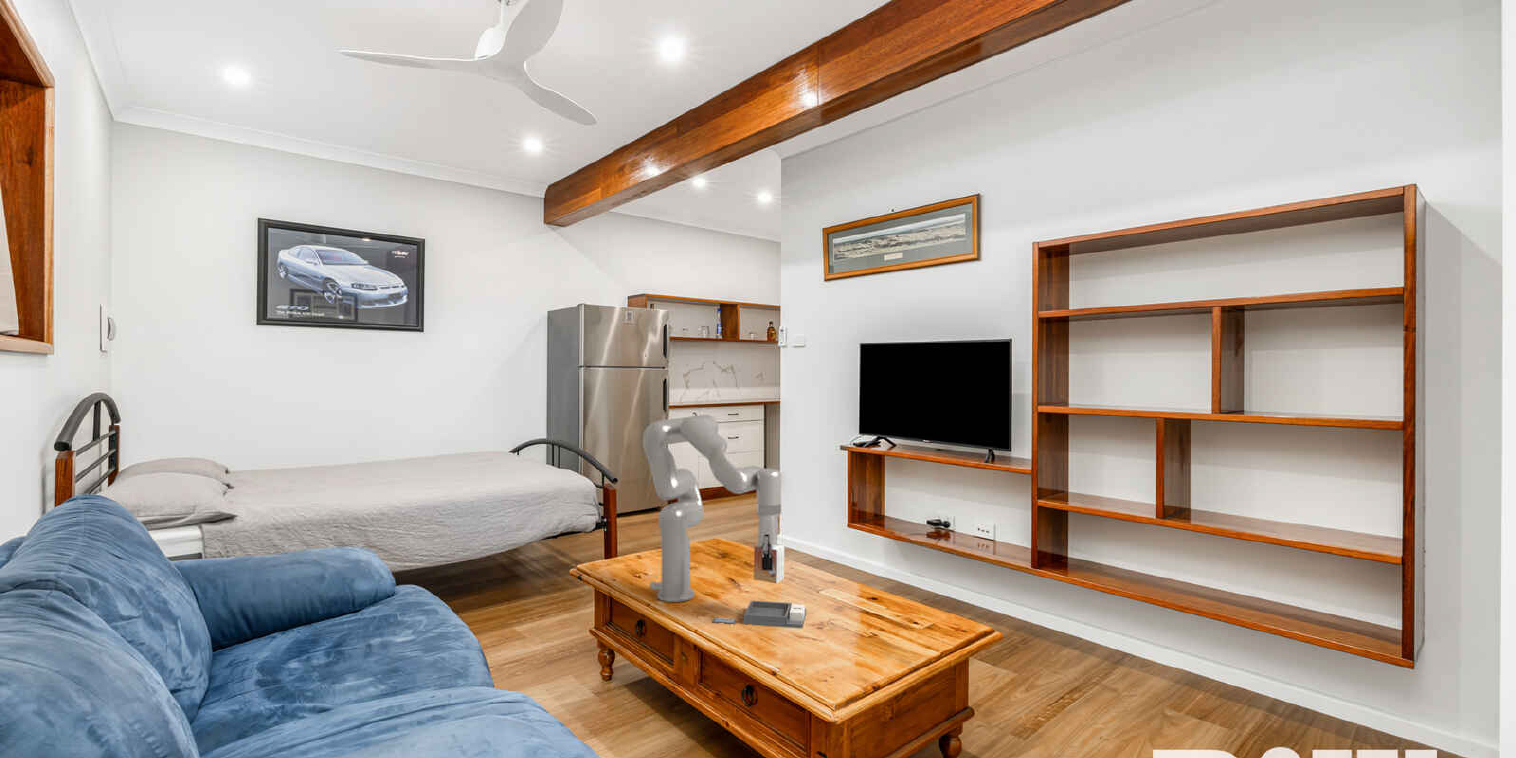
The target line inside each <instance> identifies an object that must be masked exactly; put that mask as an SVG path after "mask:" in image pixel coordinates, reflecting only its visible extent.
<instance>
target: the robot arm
mask: <svg viewBox="0 0 1516 758" xmlns="http://www.w3.org/2000/svg"><path fill="white" fill-rule="evenodd" d="M686 442H687V443H689V444H690V445H691V446H692V447H693V448H694V449H695V450H696V451H698V452H699V453H700V454H701V455H702V456H703V457H704V458H705V459H706V460H707V461H708V465H709V469H710V471H711V473H712V475H713V477H714V478H715V480H717V481H718V483H720V484H721V485H722V486H723V487H724V488H725V489H727V490H728V491H729V492H730V493H733V494H736V495H738V494H739V495H740V494H744V493H747V492H750V491H755V490H756V515H757V516H759V519H758V537H757V538H758V539H757V545H758V547H759V548H761V547H762V545H763V551H762V570H770V571H771V570H772V569H773V557H772V548H773V547H774V546H775V545H777V543H778V532H779V530H778V529H779V527H778V526H779V525H778V522H779V521H778V519H779V517H778V516H781V515H782V473H781V471H780V470H778V469H775V468H763V467H760V466H756V465H749V466H745V467H741V468H737V467H735V465H734V464H732V463H731V462H730V461H729V460H728V459H727V457H726V455H725V452H726V451H727V448H728V442H727V441H726V440H725V438H723V436H722V435H720V434H719V423H718V421H717V420H716V419H715V418H714V417H713V416H711V415H709V414H701V415H699V414H698V415H692V416H688V417H677V418H669V419H662V420H656V421H654V422H652V423H651V424H649V425H648V426H647V427H646V429H645V430H644V433H643V436H642V446H643V450H644V452H645V455H646V458H647V461H648V465H649V468H650V472H651V476H652V481H653V485H654V488H655V491H656V492H655V493H656V495H657V496H658V498H659V499H661V500H663V501H672V500H675V499H677V501H676V502H673V503H670V504H668V505H666V506H664V507H663V508H662V509H661V510H660V512H659V515H658V525H659V531H660V537H661V538H660V539H661V581H659V582H656V581H651V582H650V584H649V587H650V589H651V590H652V591H656V590H657V591H658V592H657V593H656V597H657V598H658V599H659V600H660V601H662V602H667V603H682V602H686V601H690V600H692V599H694V597H695V595H696V594H695V590H694V589H692V588H691V543H690V539H689V535H688V534H687V529H689V528H693V527H695V526H697V525H699V524H701V523H702V521H703V519H704V516H705V509H704V504H703V501H702V496H701V492H700V488H699V485H698V481H697V478H696V476H695V475H694V474H693V472H692V471H690V470H689V469H687V468H679V469H678V468H677V465H676V461H675V458H674V456H673V454H672V452H671V451H670V450H669V449H668V448H667V446H669V445H671V444H673V445H674V444H679V443H686ZM768 545H770V547H768ZM768 549H769V550H770V551H769V550H768ZM769 552H770V553H769Z"/></svg>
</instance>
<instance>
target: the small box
mask: <svg viewBox="0 0 1516 758" xmlns="http://www.w3.org/2000/svg"><path fill="white" fill-rule="evenodd" d="M768 547H770V545H768ZM768 550H769V549H768ZM762 551H763V545H762V547H761V548H759V547H758V544H757V545H755V546H754V551H753V552H754V554H753V555H754V556H753V557H754V558H753V580H755V581H756V580H757V581H761V582H766V583H771V584H778V583H780V582H781V581H782V580H784V578H785V545H782V544H781V545H779V544H775V546H774V547H773V548H772V557H773V569H772V570H771V571H770V570H762ZM769 551H770V550H769ZM769 553H770V552H769Z"/></svg>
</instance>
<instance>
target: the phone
mask: <svg viewBox="0 0 1516 758" xmlns="http://www.w3.org/2000/svg"><path fill="white" fill-rule="evenodd" d="M736 621H737V622H738V619H734V618H732V619H731V618H722V617H715V618H714V619H712V623H713V624H719V623H724V624H723V625H731V624H733V626H734V625H736V623H737V622H736ZM712 623H711V624H712Z"/></svg>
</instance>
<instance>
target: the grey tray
mask: <svg viewBox="0 0 1516 758" xmlns="http://www.w3.org/2000/svg"><path fill="white" fill-rule="evenodd" d="M806 615H807V608H806V604H796V603H795V604H794V603H792V602H780V601H763V600H750V603H749V604H748V606H747V608H746V610H745V612H744V615H743V616H744V617H743V620H742V621H743V622H742V623H743V625H747V624H752V626H762V625H763V626H764V627H777V628H780V627H781V628H791V629H793V628H794V629H795V628H796V629H803V628H804V625H805V624H804V623H805V619H806Z"/></svg>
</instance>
